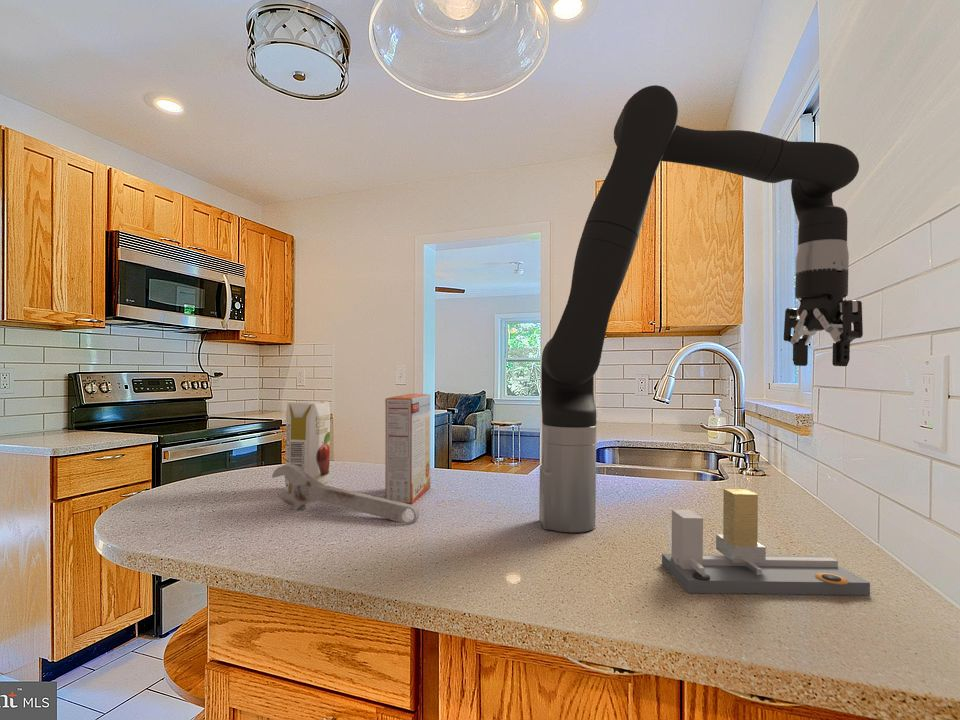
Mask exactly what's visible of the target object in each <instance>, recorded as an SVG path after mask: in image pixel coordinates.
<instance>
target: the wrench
mask: <svg viewBox="0 0 960 720" xmlns="http://www.w3.org/2000/svg"><path fill="white" fill-rule="evenodd" d="M282 476H284V478H285V477H286V478H287V480H288V481H289V482H290V485H291V487H290V489H289V491H286V490H285V491H282V492H279V493H276V495H277V499H279V500H280V501H282V502H283V503H285V504H287V505H289V506H294V511H298V510H300V511H304V510H306V504H309V503H315V502H320V503H324V504H328V505H333V506H337V507H341V508H344V509H347V510H351V511H356V512H360V513H364V514H368V515H372V516H376V517H380V518H384V519H387V520H391V521H394V522H398V523H402V524H403V523H404V524H411V523H412V524H413V523H415V522H416V521H418V519H419V517H420V510H419V508H418V507H417V506H416V505H413V504H406V503H402V502H397V501H393V500H388V499H385V497H384V498H383V497H380V496H374V495H371V494H370V495H369V494H366V493H360V492H356V491H353V490H347V489H343V488H339V487H334V486H329V485H328V486H326V485H323V484H322V483H320V482H319V481H317V480H315V479H314V478H312V477H311V476H309V475H308V474H307V473H306V472H304V471H303V470H302V469H301V468H300V467H299V466H297V465H294V464H287V465H285V464H284V465H282V466H281V465H280V466H278V467H277V468H276V469H275V470H273V473H272V476H271V477H272V479H273V478H278V477H282ZM407 509H410V510H411V512H412V513H413V519H410V518H408V517H407V515H406V511H407Z"/></svg>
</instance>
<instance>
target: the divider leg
mask: <svg viewBox="0 0 960 720" xmlns="http://www.w3.org/2000/svg"><path fill="white" fill-rule="evenodd" d="M758 498H759V494H758V493H756V492H753V491H751V490H749V489H746V488H723V498H722V499H723V506H722V507H723V509H722V510H723V520H722V521H723V522H722V523H723V524H722V526H723V527H722V529H723V531H722V533H720V534H719V533H716V534H715V539H716V540H715V549H716V550H717V551H718V552H720V553H721V554H723V555H725V556H726V557H727V558H729V559H730V560H731V561H732V562H734V563H745V566H746V567H747V568H749V569H750V570H751V571H753V572H754V573H755V574H757V575H762V569H761V568H760V567H758V566H757V565H756V564H754V563H766V555H767V554H766V551H767V550H766V549H767V548H766V546H764V545H762V544H761V543H759V542H758V538H759V537H758V529H759V527H758V524H759V523H758V519H759V518H758V517H759V516H758V513H759V511H758V510H759V509H758V508H759V507H758V505H759V499H758Z"/></svg>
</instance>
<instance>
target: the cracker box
mask: <svg viewBox="0 0 960 720" xmlns="http://www.w3.org/2000/svg"><path fill="white" fill-rule="evenodd" d="M384 401H385V402H384V405H385V406H384V407H385V408H384V409H385V414H384V415H385V417H384V418H385V425H384V426H385V436H384V437H385V438H384V439H385V445H384V447H385V449H384V451H385V455H384V456H385V457H384V459H385V461H384V462H385V463H384V464H385V469H384V470H385V473H384V474H385V476H384V478H385V479H384V480H385V481H384V483H385V484H384V485H385V493H384V495H385V496H384V499H388V500H393V501H397V502H402V503H406V504H411V505H413V504H414V503H415V502H416V501H417V500H418V499H419V498H420V497H421V496H423V495H424V494H425V493H426V492H427V491H428V490H429V489H430V488H431V394H428V393H427V394H426V393H425V394H424V393H423V394H422V393H407V394H401V395H396V396H390V397H387V398H385V400H384Z"/></svg>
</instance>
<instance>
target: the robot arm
mask: <svg viewBox="0 0 960 720" xmlns="http://www.w3.org/2000/svg"><path fill="white" fill-rule="evenodd" d="M678 120H679V106H678V103H677V100H676V98H675V96H674V95H673V93H672V92H671V91H670V90H669V89H668V88H667V87H664V86H662V85H657V84H656V85H648V86H645V87H643V88H641V89H639V90H638V91H637V92H635V93H634V94H632V96H631V97H630V98H629V99H628V100H627V101H626V103H625V104H624V107H623V109H622V110H621V112H620V114H619V116H618V119H617V121H616V124H615V126H614V129H613V141H614V144H615V146H616V149H615V153H614V156H613V160H612V163H611V165H610V168H609V169H608V172H607V175H606V177H605V179H604V181H603V182H602V184H601V186H600V189H599V191H598V193H597V194H596V197H595V199H594V201H593V204H592V205H591V208H590V211H589V213H588V215H587V218H586V220H585V223H584V226H583V231H582V234H581V236H580V240H579V243H578V246H577V250H576V254H575V258H574V263H573V270H572V276H571V277H572V278H571V285H570V291H569V295H568V300H567V303H566V305H565V308H564V310H563V313H562V315H561V317H560V320H559V322H558V325H557V327H556V328H555V331H554V333H553V335H552V337H551V338H550V339H549V340H548V341H547V342H546V344H545V345H544V347H543V349H542V354H541V377H540V378H541V380H540V382H541V386H540V387H541V388H540V391H541V392H540V393H541V397H540V398H541V400H540V401H541V405H540V406H541V419H542V420H541V465H539V497H538V498H539V501H538V504H539V506H538V507H539V508H538V510H539V511H538V519H539V521H540V524H541V526H542V529H543V530H550V531H551V530H552V531H556V532H563V533H585V532H589V531H592V530H594V529H595V528H596V517H597V513H596V507H597V506H596V502H597V500H596V499H597V497H596V496H597V493H596V492H597V480H596V479H597V416H598V414H597V408H596V404H595V403H596V402H595V397H594V396H595V395H594V390H595V389H594V386H595V385H594V379H595V377H594V375H595V374H596V372H597V371H598V369H599V366H600V363H601V359H602V354H603V348H604V343H605V338H606V334H607V329H608V325H609V320H610V317H611V313H612V310H613V306H614V304H615V301H616V299H617V297H618V295H619V293H620V290H621V288H622V285H623V283H624V280H625V279H626V278H625V277H626V275H627V272H628V269H629V267H630V264H631V262H632V259H633V255H634V252H635V250H636V247H637V243H638V240H639V237H640V233H641V230H642V226H643V222H644V219H645V215H646V211H647V208H648V205H649V200H650V195H651V192H652V188H653V184H654V183H653V182H654V179H655V176H656V173H657V171H658V169H659V165H660V163H661V162H664V163H665V162H667V163H674V164H682V165H690V166H696V167H701V168H708V169H713V170H717V171H722V172H725V173H726V172H727V173H729V174H733V175H738V176H742V177H745V178H749V179H752V180H755V181H760V182H762V183H769V184H776V183H780V182H783V181H791V183H790V194H791V199H792V203H793V207H794V208H793V209H794V211H795V215H796V218H797V220H798V228H797V229H798V231H797V233H798V234H797V252H796V257H795V282H794V283H795V285H794V286H795V287H794V288H795V289H794V290H795V291H794V292H795V293H794V296H795V299H797V300H799V303H800V304H799V307H798V308H789V307H788V308H786V309H785V312H784V326H783V327H784V328H783V329H784V330H783V340H784V342H789V343H790V344H792V362H793V366H798V367H806V366H808V357H809V355H808V354H809V353H808V351H809V345H808V343H809V341H810V340H811V338H812V337H813V336H814V335H816V333H818V332H822V331H825V332H827V333H829V335H830V336H831V337H830V338H832V340H833V341H834V342H833V343H832V359H831V361H832V366H833V367H847V366H848V365H849V361H850V360H851V359H850V358H851V356H850V355H851V354H850V353H851V343H852V342H853V340H856V339H861V338H863V335H864V332H863V331H864V329H863V326H864V325H863V302H862V301H861V300H855V299H845V298H846V297H847V296H848V295H849V266H850V265H849V264H850V263H849V259H850V258H849V257H850V256H849V247H848V222H849V221H848V213H847V211H846V210H845V209H844V208H843V207H840V206H836V205H834V200H833V193H835V192H837V191H839V190H841V189H843V188H845V187H847V186H848V185H849V184H850V183H852V182H853V181H854V179H855V178H857V175H858V173H859V169H860V163H859V159H858V157H857V155H856V154H855V153H854V151H852V150H851V149H849V148H847V147H845V146H843V145H840V144H837V143H830V142H816V141H789V140H786V139H783V138H780V137H776V136H773V135H769V134H765V133H762V132H761V133H760V132H756V131H751V130H744V129H743V130H741V129H740V130H738V129H737V130H736V129H733V130H732V129H730V130H728V129H727V130H725V129H724V130H702V129H692V128H689V127H684V126H681V125H678V122H679V121H678ZM852 324H853V325H852ZM852 327H853V329H852ZM792 329H793V334H792Z"/></svg>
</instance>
